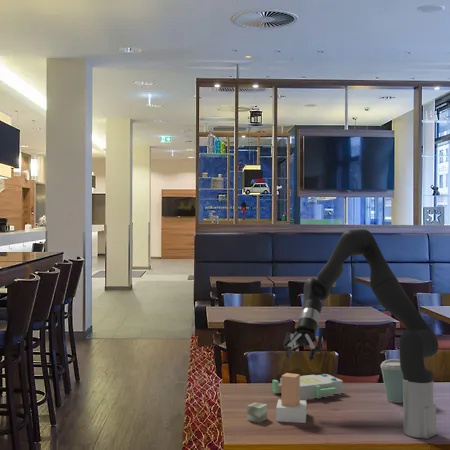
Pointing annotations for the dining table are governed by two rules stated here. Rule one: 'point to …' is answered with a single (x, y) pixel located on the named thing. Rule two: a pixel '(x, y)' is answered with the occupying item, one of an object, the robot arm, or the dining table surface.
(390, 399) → the disposable coffee cup
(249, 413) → the sage cube
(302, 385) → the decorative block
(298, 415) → the grey base block
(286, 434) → the dining table surface
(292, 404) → the terracotta block
